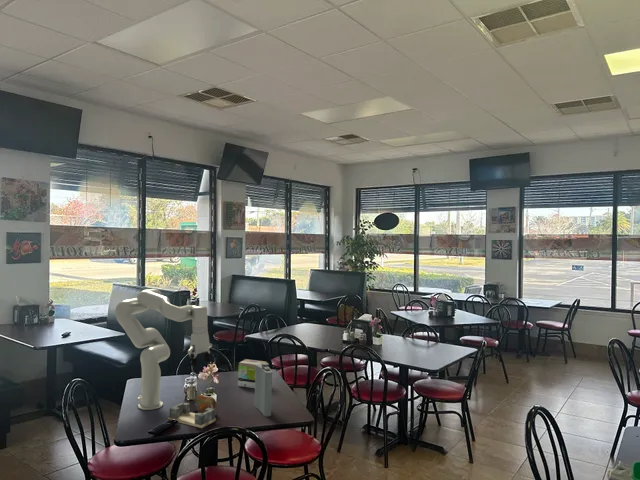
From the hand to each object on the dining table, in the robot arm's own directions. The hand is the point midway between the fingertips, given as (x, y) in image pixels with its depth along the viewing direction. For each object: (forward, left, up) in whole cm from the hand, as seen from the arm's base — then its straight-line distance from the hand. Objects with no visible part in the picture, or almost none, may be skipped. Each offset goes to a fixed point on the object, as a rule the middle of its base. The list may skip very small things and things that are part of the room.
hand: (200, 363), depth 243 cm
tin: (+1, +3, -26) cm, 26 cm away
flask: (+26, +20, -26) cm, 42 cm away
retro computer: (-3, +52, -26) cm, 58 cm away
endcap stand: (+3, -9, -26) cm, 27 cm away
